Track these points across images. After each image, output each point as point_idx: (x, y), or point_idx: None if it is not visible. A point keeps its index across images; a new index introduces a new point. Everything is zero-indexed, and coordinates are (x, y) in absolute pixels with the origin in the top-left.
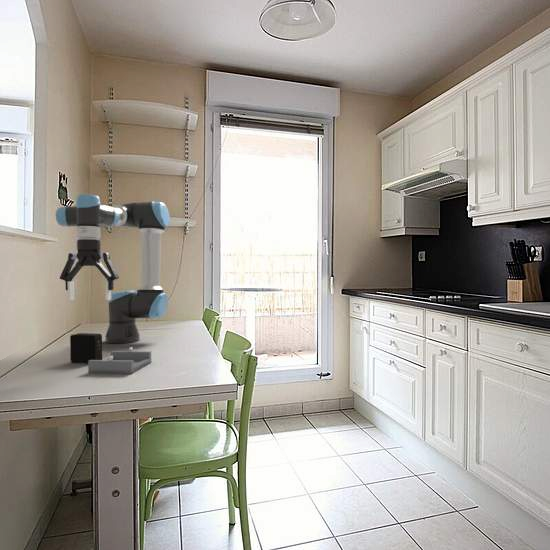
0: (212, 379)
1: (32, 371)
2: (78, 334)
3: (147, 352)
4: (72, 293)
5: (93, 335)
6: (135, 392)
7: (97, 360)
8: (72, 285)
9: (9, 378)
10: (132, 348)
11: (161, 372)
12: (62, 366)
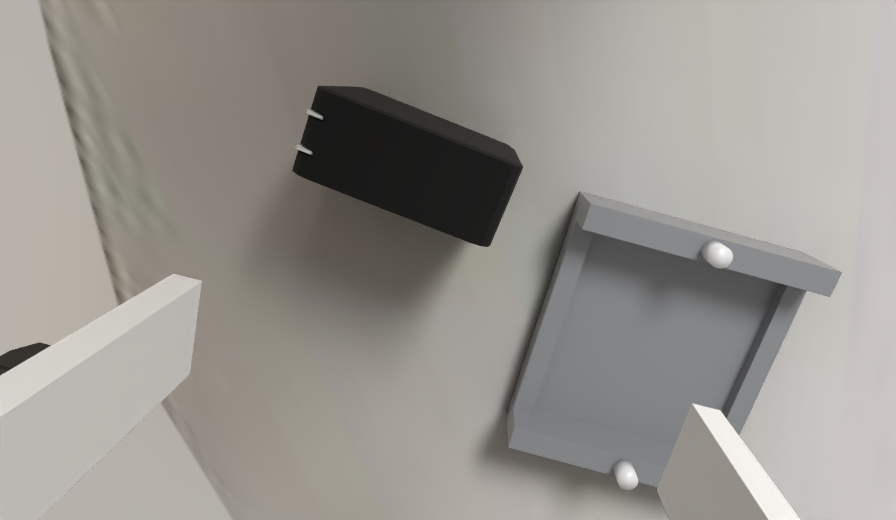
0: None
1: (226, 319)
2: (346, 168)
3: (815, 292)
4: (149, 355)
5: (477, 241)
6: None
7: (553, 448)
8: (64, 421)
9: (192, 424)
10: (730, 258)
11: (843, 467)
12: (330, 240)
